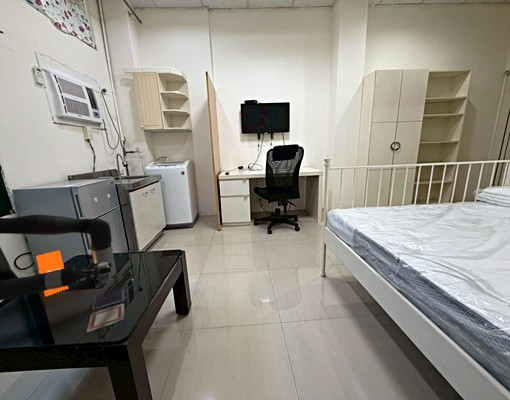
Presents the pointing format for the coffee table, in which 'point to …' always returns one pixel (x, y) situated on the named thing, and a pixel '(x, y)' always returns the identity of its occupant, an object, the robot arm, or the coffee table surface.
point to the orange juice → (50, 267)
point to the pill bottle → (103, 277)
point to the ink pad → (108, 299)
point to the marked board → (105, 317)
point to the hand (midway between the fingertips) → (110, 267)
